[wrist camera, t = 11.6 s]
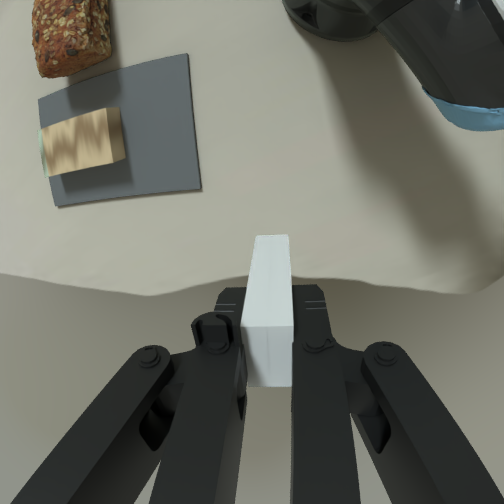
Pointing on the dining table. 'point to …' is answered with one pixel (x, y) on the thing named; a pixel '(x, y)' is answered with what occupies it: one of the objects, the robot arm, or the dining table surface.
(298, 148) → the dining table surface
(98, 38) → the bread
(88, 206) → the dining table surface
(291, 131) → the dining table surface
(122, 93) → the mat
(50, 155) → the slab
